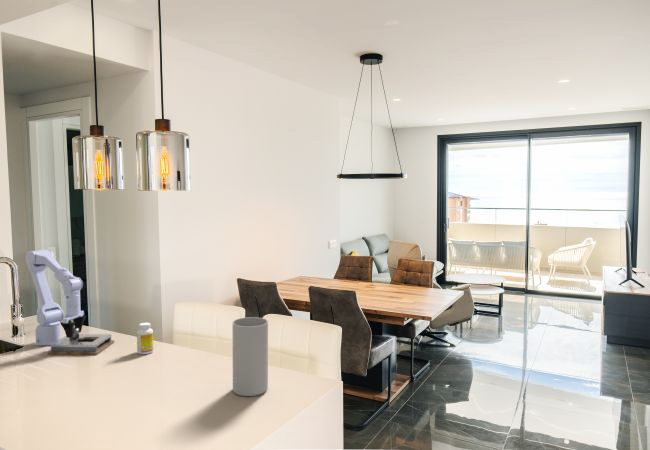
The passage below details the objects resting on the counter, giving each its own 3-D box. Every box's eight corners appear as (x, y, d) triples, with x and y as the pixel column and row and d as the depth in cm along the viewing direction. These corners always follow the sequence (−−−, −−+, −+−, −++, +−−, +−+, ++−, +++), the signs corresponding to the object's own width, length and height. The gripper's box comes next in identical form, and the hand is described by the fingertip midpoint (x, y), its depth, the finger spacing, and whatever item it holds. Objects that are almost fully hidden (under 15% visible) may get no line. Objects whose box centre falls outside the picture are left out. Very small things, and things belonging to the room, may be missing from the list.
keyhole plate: (51, 351, 203) (50, 344, 203) (69, 340, 218) (69, 334, 218) (96, 351, 203) (95, 344, 203) (111, 340, 218) (111, 334, 218)
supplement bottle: (156, 351, 207) (156, 323, 207) (143, 356, 202) (143, 326, 201) (146, 348, 211) (146, 321, 210) (134, 353, 205) (133, 324, 204)
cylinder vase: (273, 385, 173) (273, 318, 171) (259, 399, 161) (259, 328, 159) (242, 381, 176) (242, 316, 174) (226, 394, 164) (226, 325, 162)
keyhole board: (47, 354, 202) (47, 352, 202) (68, 342, 219) (68, 340, 219) (97, 354, 203) (97, 352, 203) (114, 342, 220) (114, 340, 219)
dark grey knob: (64, 348, 208) (64, 330, 207) (71, 343, 214) (71, 326, 213) (77, 348, 208) (77, 330, 207) (83, 344, 214) (83, 326, 213)
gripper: (73, 309, 202) (74, 339, 203) (90, 301, 217) (90, 330, 218) (57, 309, 202) (58, 339, 203) (74, 301, 217) (75, 329, 218)
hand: (74, 334), depth 210 cm, fingers open, 7 cm apart
